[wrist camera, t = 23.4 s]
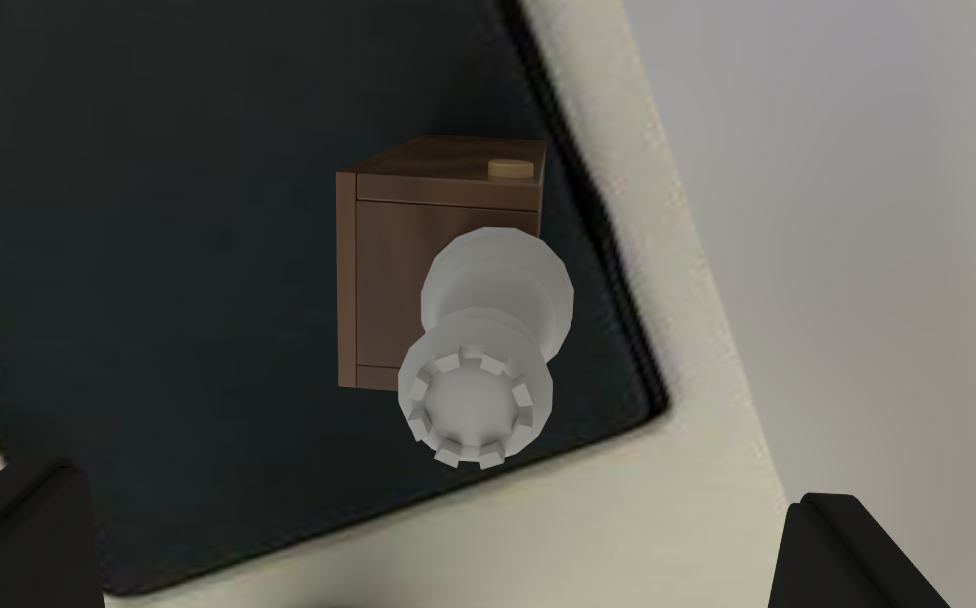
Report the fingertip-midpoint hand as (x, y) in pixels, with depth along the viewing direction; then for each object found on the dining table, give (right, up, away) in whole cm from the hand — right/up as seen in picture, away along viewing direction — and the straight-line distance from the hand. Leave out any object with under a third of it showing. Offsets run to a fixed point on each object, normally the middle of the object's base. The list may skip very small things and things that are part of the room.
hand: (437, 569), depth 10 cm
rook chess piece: (+1, +4, +12) cm, 13 cm away
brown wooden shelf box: (-3, +6, +20) cm, 21 cm away
